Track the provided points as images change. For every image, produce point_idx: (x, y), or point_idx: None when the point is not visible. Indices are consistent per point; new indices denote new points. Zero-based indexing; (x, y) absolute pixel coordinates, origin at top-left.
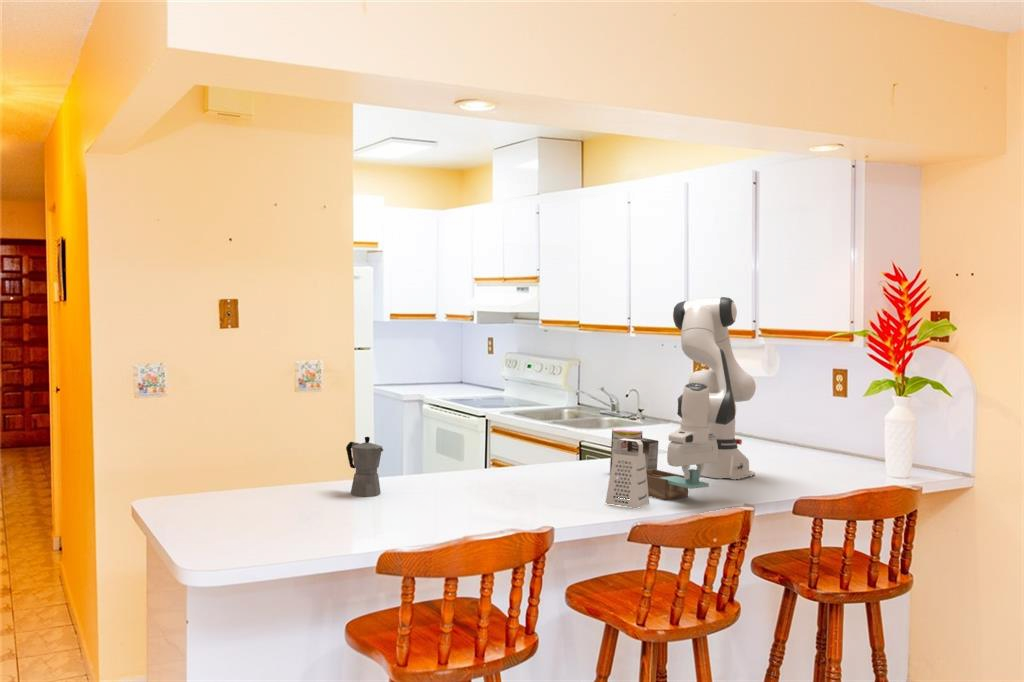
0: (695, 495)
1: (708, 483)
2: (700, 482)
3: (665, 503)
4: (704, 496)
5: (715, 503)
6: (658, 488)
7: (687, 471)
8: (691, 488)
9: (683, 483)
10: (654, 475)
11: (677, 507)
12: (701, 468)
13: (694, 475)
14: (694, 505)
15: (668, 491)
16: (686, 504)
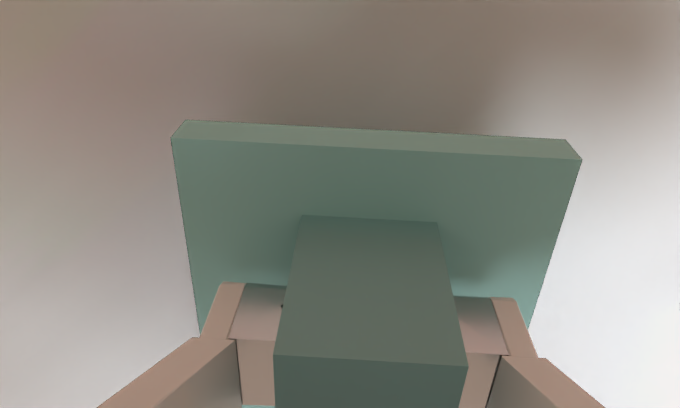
0: (125, 293)
1: (179, 139)
2: (240, 235)
3: (589, 240)
4: (75, 242)
5: (173, 4)
6: None
7: (594, 400)
8: (551, 140)
9: (506, 296)
10: None
11: (673, 88)
12: (167, 401)
13: (413, 303)
14: (449, 58)
15: None
16: (475, 128)
